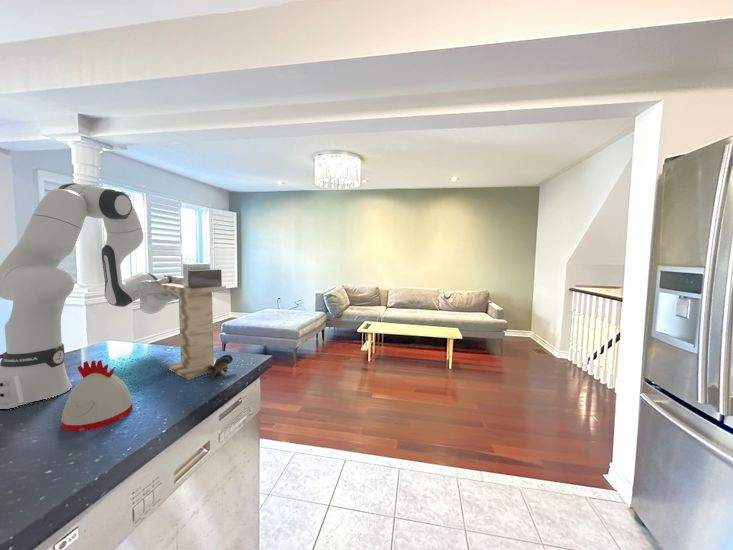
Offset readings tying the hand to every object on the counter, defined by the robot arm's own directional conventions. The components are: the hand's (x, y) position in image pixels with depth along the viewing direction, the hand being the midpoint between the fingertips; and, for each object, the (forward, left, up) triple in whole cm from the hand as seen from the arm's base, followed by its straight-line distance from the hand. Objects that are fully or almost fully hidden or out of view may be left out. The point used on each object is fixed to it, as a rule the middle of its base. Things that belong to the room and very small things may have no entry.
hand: (173, 278), depth 119 cm
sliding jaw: (+6, -6, -2) cm, 8 cm away
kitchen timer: (-1, -43, -33) cm, 54 cm away
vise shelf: (+11, -11, -33) cm, 36 cm away
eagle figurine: (+22, -20, -33) cm, 44 cm away
